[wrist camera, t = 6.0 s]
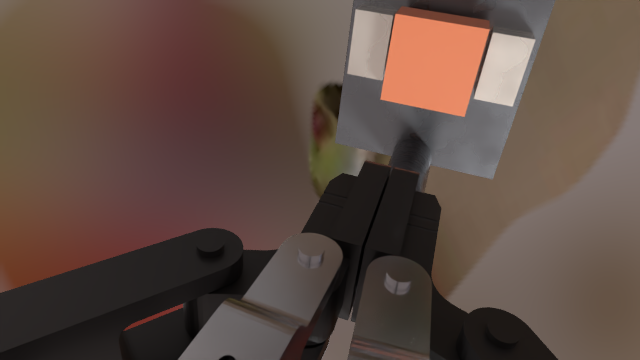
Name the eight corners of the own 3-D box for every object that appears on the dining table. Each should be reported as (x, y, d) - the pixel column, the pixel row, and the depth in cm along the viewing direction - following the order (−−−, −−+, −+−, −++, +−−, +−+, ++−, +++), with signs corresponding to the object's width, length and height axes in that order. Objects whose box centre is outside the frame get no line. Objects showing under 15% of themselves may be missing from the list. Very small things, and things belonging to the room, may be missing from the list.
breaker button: (408, -2, 26) (395, 13, 22) (489, 11, 25) (489, 29, 21) (394, 74, 28) (380, 99, 25) (467, 88, 27) (464, 116, 24)
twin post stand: (380, -128, 24) (270, -162, 12) (583, -107, 22) (701, -121, 10) (343, 139, 33) (256, 280, 20) (488, 172, 31) (488, 351, 18)
